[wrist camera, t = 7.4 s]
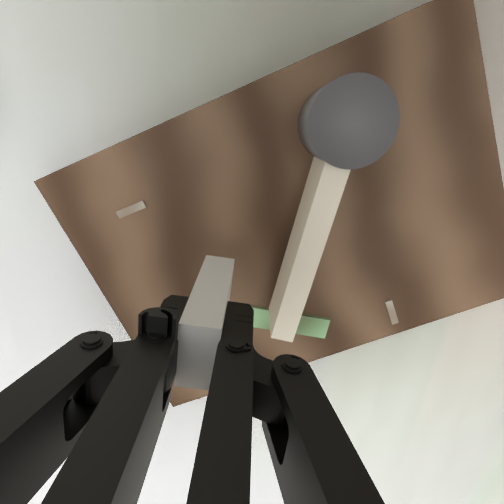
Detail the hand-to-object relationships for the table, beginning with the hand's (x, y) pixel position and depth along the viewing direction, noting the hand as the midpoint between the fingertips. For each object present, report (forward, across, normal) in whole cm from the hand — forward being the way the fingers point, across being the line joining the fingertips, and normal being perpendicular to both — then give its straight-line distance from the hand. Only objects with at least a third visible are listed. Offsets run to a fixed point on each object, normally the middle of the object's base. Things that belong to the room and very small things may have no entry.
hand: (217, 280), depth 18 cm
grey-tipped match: (+6, +5, +3) cm, 8 cm away
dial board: (+7, +4, +1) cm, 8 cm away
